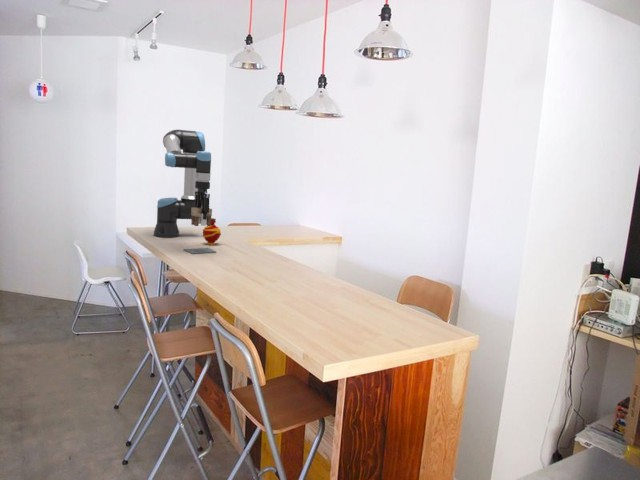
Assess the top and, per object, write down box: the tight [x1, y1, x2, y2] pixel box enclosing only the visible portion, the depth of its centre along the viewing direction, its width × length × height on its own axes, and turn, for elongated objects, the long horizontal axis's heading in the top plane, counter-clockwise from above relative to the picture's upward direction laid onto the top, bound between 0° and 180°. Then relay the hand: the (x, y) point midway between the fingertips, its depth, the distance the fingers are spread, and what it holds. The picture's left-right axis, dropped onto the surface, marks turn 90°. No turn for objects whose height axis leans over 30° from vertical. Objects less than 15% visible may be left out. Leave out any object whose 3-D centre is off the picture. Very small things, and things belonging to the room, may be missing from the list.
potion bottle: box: [202, 217, 222, 246], centre depth 283 cm, size 10×10×15 cm
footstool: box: [190, 207, 213, 227], centre depth 258 cm, size 9×6×9 cm, turn 128°
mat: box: [183, 247, 217, 255], centre depth 261 cm, size 11×14×1 cm
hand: (201, 224), depth 259 cm, fingers closed on footstool, 6 cm apart
